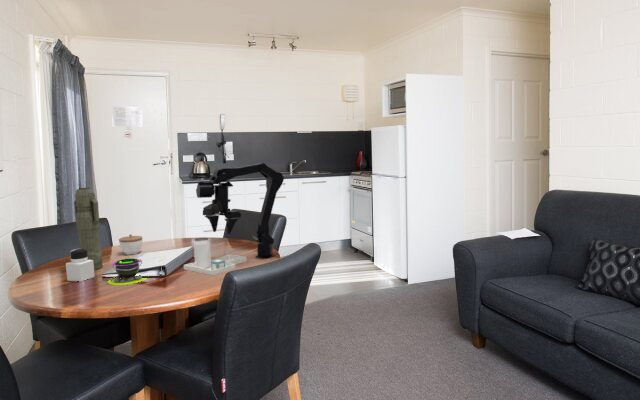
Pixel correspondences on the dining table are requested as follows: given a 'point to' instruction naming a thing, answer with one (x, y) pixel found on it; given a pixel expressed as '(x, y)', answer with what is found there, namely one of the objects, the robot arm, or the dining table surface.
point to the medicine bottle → (79, 266)
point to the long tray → (208, 270)
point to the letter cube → (217, 264)
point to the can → (202, 253)
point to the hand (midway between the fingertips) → (221, 232)
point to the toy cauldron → (127, 271)
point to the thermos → (88, 224)
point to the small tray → (232, 259)
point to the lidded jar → (131, 244)
